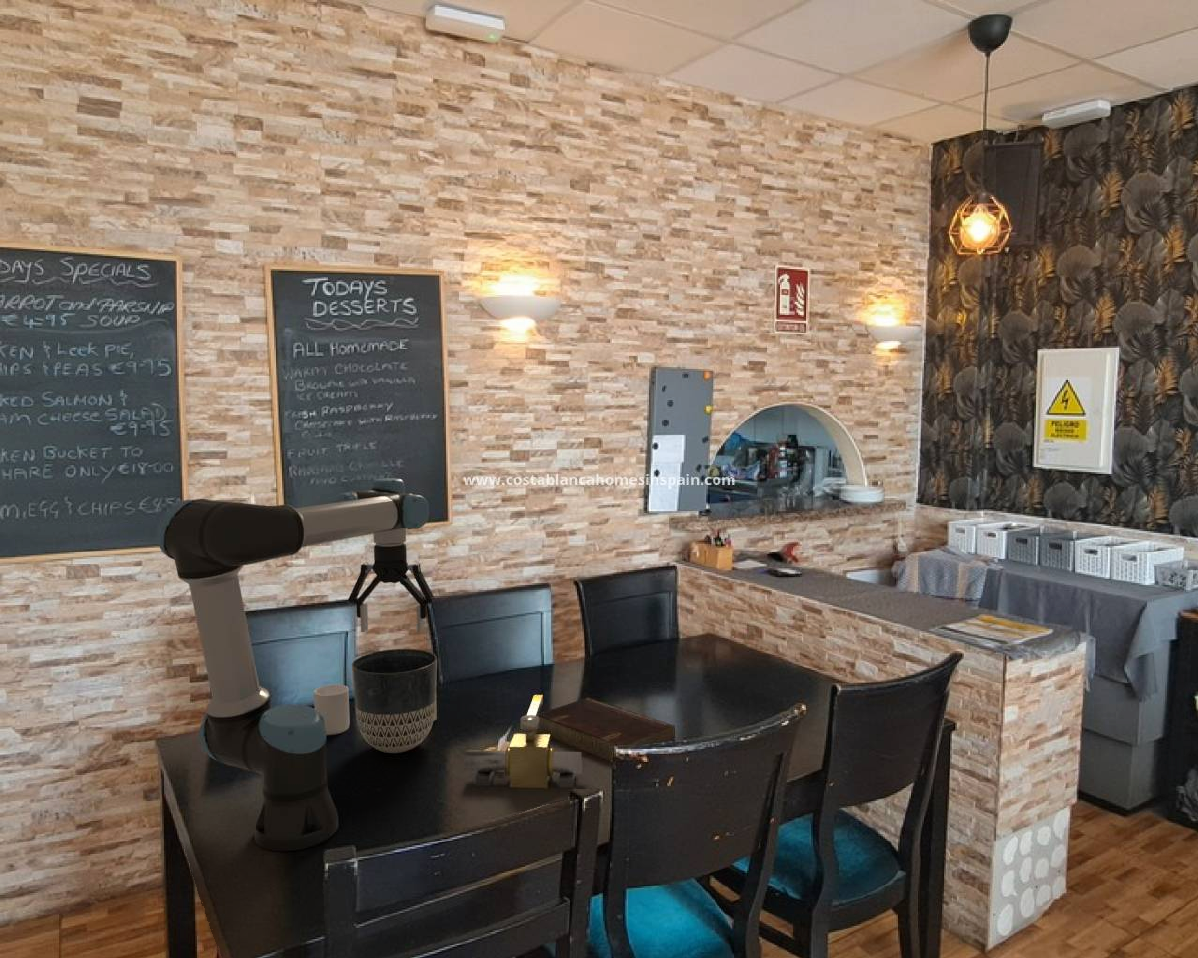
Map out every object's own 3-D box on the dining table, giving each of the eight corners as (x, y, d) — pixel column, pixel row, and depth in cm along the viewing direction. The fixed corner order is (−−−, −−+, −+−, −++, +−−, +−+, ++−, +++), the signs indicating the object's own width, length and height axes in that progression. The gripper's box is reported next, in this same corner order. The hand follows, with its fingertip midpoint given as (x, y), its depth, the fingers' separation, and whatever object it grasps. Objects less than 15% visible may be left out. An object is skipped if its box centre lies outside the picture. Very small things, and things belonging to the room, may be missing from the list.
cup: (321, 738, 212) (319, 697, 211) (306, 723, 221) (305, 684, 221) (354, 730, 216) (353, 691, 215) (338, 716, 226) (337, 678, 225)
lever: (538, 730, 184) (538, 721, 184) (519, 730, 184) (519, 721, 184) (546, 703, 201) (546, 694, 201) (529, 702, 201) (529, 694, 201)
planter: (339, 748, 205) (336, 660, 203) (410, 726, 219) (408, 644, 217) (382, 773, 191) (379, 679, 189) (455, 748, 205) (453, 660, 203)
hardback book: (675, 743, 208) (675, 723, 208) (623, 767, 195) (622, 746, 194) (589, 713, 228) (589, 695, 228) (536, 733, 215) (536, 714, 214)
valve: (580, 788, 183) (579, 735, 182) (463, 786, 184) (462, 734, 183) (582, 774, 190) (582, 723, 189) (470, 772, 191) (469, 721, 190)
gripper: (445, 541, 207) (447, 627, 209) (344, 540, 209) (347, 626, 211) (437, 546, 200) (439, 636, 202) (332, 545, 201) (335, 634, 203)
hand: (392, 631), depth 206 cm, fingers open, 13 cm apart
